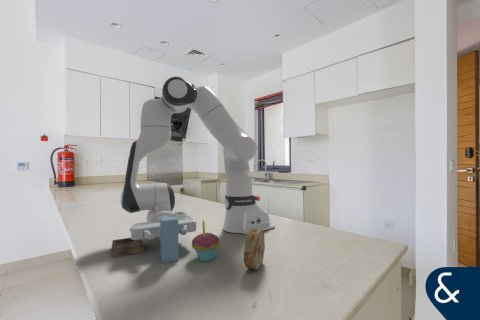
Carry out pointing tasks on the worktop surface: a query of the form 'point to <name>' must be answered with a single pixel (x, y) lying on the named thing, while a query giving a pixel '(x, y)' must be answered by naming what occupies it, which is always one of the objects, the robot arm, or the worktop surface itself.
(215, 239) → the cupcake
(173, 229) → the slate block
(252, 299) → the worktop surface
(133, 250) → the walnut base
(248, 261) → the bagel
